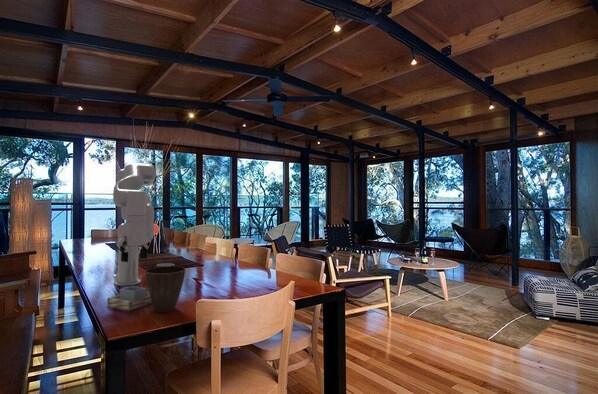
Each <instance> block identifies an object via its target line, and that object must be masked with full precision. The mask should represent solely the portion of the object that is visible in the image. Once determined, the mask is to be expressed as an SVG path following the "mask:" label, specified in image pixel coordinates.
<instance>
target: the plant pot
mask: <svg viewBox="0 0 598 394" xmlns="http://www.w3.org/2000/svg"><path fill="white" fill-rule="evenodd" d="M150 268H151V269H150ZM150 268H149V269H146V270H145V277H146V285H147V290H148V293H149V294H150V297H151V301H152V306H153V308H154V311H155V312H156V313H167V312H168V313H169V312H173V311H174V310H175V308H176V306H177V303H178V301H179V298H180V295H181V292H182V287H183V283H184V279H185V274H186V268H185V267H182V266H174V267H157V266H156V268H152V267H150Z"/></svg>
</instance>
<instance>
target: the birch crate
mask: <svg viewBox="0 0 598 394" xmlns="http://www.w3.org/2000/svg"><path fill="white" fill-rule="evenodd" d="M119 295H120V294H117V295H115V296H110V297H107V302H106V306H107V307H106V308H112V309H117V310H122V311H127V312H131V311H134V310H137V309H139V308H144V307H147V306H149V305H151V304H152V301H151V297H150V294H149V292H146V297H143V298H140V299H137V300H134V301H125V300H119ZM144 301H145V302H144ZM141 302H143V303H141ZM138 303H140V304H138ZM135 304H136V305H135ZM132 305H133V306H132ZM152 305H153V304H152Z"/></svg>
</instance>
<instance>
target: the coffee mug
mask: <svg viewBox="0 0 598 394" xmlns="http://www.w3.org/2000/svg"><path fill="white" fill-rule="evenodd" d="M157 267H175V264H174V263H170V262H166V263H158V264H156V266H152V267H150V268H149V269H151V268H157Z"/></svg>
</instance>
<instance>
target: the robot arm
mask: <svg viewBox="0 0 598 394" xmlns="http://www.w3.org/2000/svg"><path fill="white" fill-rule="evenodd" d="M155 179H156V168H155V167H154V165H152V164H150V163H147V164H146V163H137V162H132V163H128V164H126V165H125V166H124V167H123V169H119V170H118V171H117V172H116V184H115V185H114V187H113V191H112V193H113V194H112V200H113V203H114V205H115V206H116V207H120V209H121V210H120V213H121V214H120V215H121V218H122V219H123V221H125V222H124V223H121V224H119V225H118V227H117V231H116V232H117V240H118V241H115V242H116V247H117V249H118V257H117V258H118V259H117V273H116V274H114V275H113V278H114V279H115V280H114V281H113V284H114V286H119V287H120V286H123V287H124V286H127V287H128V286H134V285H138V284H140V283H141V281H142V280H141V278H138V277H139V259H147V258H148V249H149V247H150V246H151V243H152V240H153V239H154V235H155V234H154V233H155V209H154V205H152V204H151V203H150V194H149V193H148V192H147V191H145V190H141V189H142V188H143V187H151V186H152V185H153V183H154V182H155ZM139 247H140V250H139ZM139 252H140V254H139Z"/></svg>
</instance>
